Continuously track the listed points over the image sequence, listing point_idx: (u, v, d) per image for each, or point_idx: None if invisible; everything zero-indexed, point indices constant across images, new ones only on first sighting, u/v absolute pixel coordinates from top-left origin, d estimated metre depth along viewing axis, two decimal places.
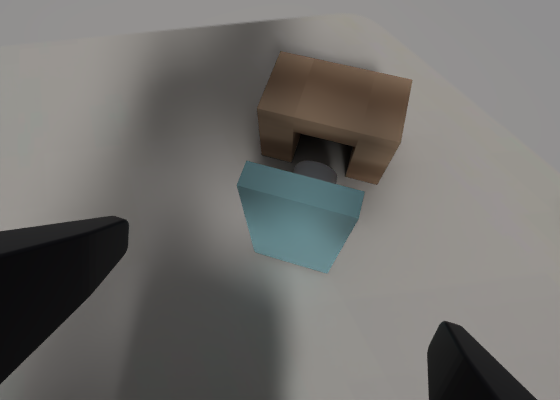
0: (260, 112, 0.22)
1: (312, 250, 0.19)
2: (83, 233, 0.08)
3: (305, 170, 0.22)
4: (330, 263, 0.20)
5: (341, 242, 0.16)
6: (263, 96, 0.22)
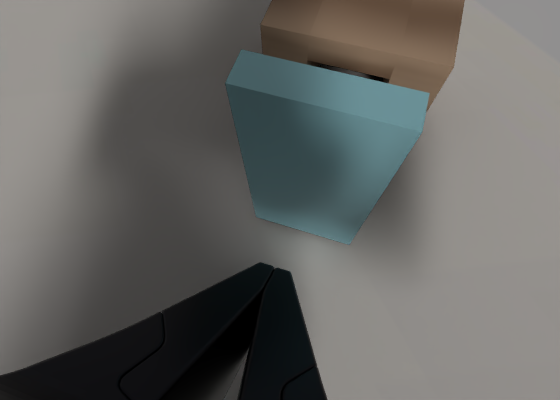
0: (265, 31, 0.16)
1: (334, 207, 0.14)
2: (258, 291, 0.07)
3: None
4: (356, 228, 0.15)
5: (380, 188, 0.11)
6: (269, 10, 0.16)
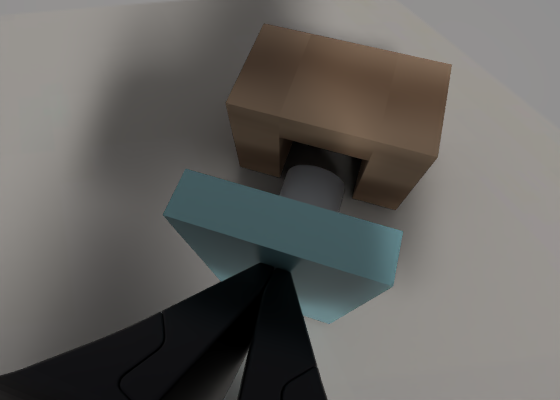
0: (231, 109, 0.15)
1: (307, 303, 0.12)
2: (258, 291, 0.07)
3: (301, 178, 0.16)
4: (334, 318, 0.13)
5: (354, 304, 0.10)
6: (236, 86, 0.15)
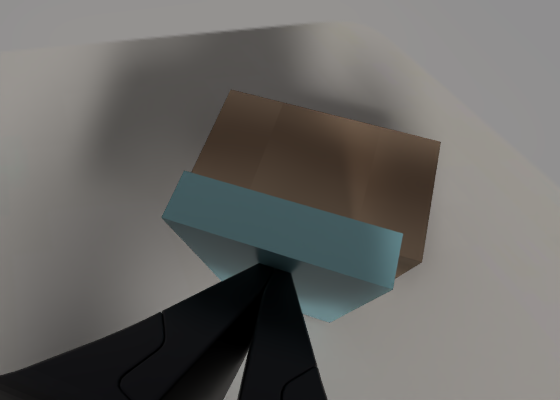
0: None
1: (307, 303, 0.12)
2: (258, 291, 0.07)
3: None
4: (334, 317, 0.13)
5: (353, 305, 0.10)
6: (195, 169, 0.13)
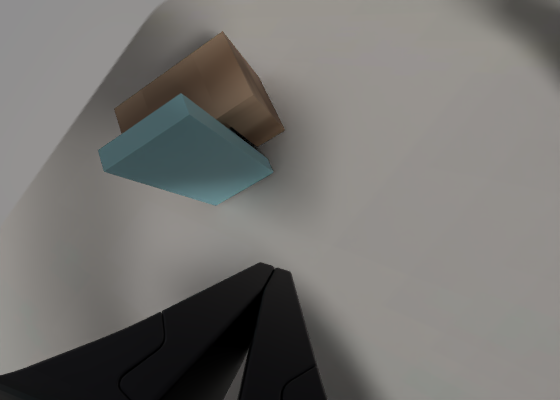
0: None
1: (229, 165, 0.20)
2: (258, 291, 0.07)
3: None
4: (256, 163, 0.21)
5: (224, 141, 0.18)
6: None
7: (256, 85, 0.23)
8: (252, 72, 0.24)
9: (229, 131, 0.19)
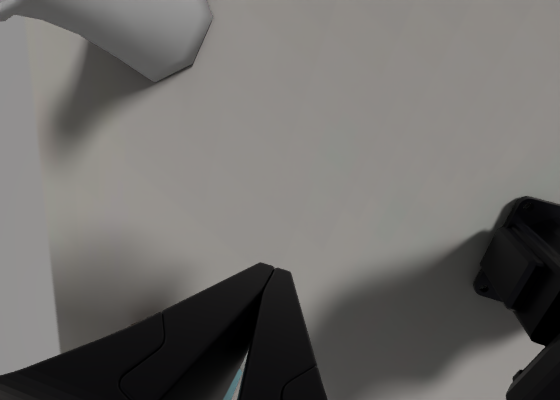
0: None
1: None
2: (258, 291, 0.07)
3: None
4: None
5: None
6: None
7: None
8: None
9: None
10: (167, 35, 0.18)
